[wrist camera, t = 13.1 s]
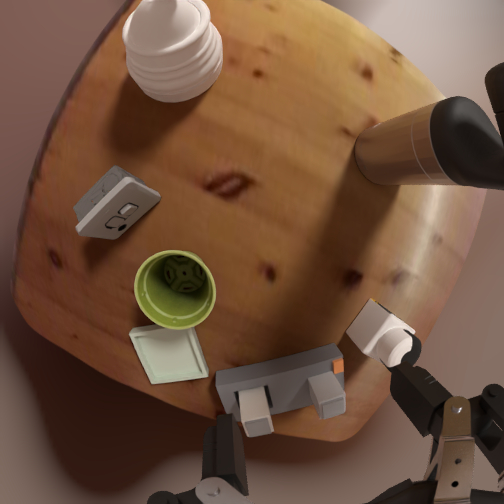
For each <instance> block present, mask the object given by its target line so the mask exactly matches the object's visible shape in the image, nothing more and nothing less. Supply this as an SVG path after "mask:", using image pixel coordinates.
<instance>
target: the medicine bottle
mask: <svg viewBox="0 0 504 504" xmlns="http://www.w3.org/2000/svg"><path fill="white" fill-rule="evenodd" d="M346 333H347V335H348V336H349V337H350V338H351V339H352V341H353V342H354V343H355V344H356V345H357V347H358V348H359V349H360V350H361V351H362V353H364V354H365V355H367V356H369V357H371V358H373V359H375V360H377V361H379V362H381V363H383V364H384V365H385V366H386V368H387V369H388V370H389V371H390V372H391V373H392V368H393V366H395V365H398V364H400V363H402V362H404V361H408V362H409V363H410V364H411V365H412V366H413V365H414V364H415V363H416V361H417V360H418V358H419V356H420V353H421V342H420V340H419V339H418V338H417V337H416V336H414V333H415V330H414V329H412V328H411V327H410V326H409V325H407V324H406V323H405V322H403V321H402V320H401V319H400V318H398V317H397V316H396V315H394V314H393V313H392V312H390V311H389V310H387V309H386V308H385V307H383V306H382V305H381V304H379V303H378V302H376V301H375V300H374V299H372V298H370V299H369V300H368V302H367V303H366V305H365V306H364V307H363V309H362V310H361V312H360V313H359V314H358V316H357V317H356V318H355V320H354V321H353V322H352V324H351V325H350V326H349V328H348V329H347V330H346Z"/></svg>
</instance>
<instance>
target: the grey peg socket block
mask: <svg viewBox="0 0 504 504" xmlns="http://www.w3.org/2000/svg"><path fill="white" fill-rule="evenodd" d="M260 386H264V388H265V392H266V396H267V401H268V406H269V410H270V415H274V414H278V413H283V412H287V411H291V410H295V409H298V408H302V407H306V406H309V405H313V404H314V406H315V408H316V410H317V413H318V415H319V418H320V419H327V418H330V417H333V416H336V415H339V414H342V413H344V411H345V392H344V365H343V354H342V353H341V352H340V350H339V349H338V347H337V346H336V345H335V343H332V344H329V345H325V346H322V347H318V348H315V349H312V350H308V351H304V352H301V353H297V354H293V355H289V356H285V357H281V358H277V359H273V360H269V361H264V362H260V363H256V364H251V365H246V366H241V367H236V368H231V369H226V370H220V371H216V388H217V391H218V394H219V396H220V399H221V401H222V404H223V406H224V409H225V411H226V414H229V413H233V414H234V417H235V419H236V422H239V421H241V413H240V402H239V391H241V390H246V389H251V388H256V387H260Z"/></svg>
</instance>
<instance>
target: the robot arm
mask: <svg viewBox="0 0 504 504" xmlns="http://www.w3.org/2000/svg"><path fill="white" fill-rule="evenodd" d="M485 85H486V90H487V93H488V96H489V99H490V102H491V105H492V108H493V111H494V113H495V114H496V115H495V117H496V121H497V124H498V127H499V131H500V135H501V136H500V135H499V134H498V132H497V131H496V129H495V127H494V126H493V124H492V123H491V121H490V119H489V118H488V116H487V115H486V113H485V112H484V111H483V110H482V109H481V108H480V106H478V105H477V104H476V103H475V102H474V101H472V100H470V99H468V98H466V97H460V96H456V97H451V98H448V99H445V100H442V101H439V102H436V103H433V104H430V105H427V106H425V107H422V108H419V109H416V110H414V111H411V112H408V113H406V114H403V115H400V116H398V117H395V118H392V119H390V120H387V121H385V122H382V123H379V124H377V125H375V126H372V127H370V128H367V129H366V130H364V131H363V132H362V133H361V134H360V135H359V137H358V138H357V141H356V144H355V159H356V162H357V165H358V167H359V169H360V171H361V172H362V173H363V175H364V176H365V177H366V178H367V179H368V180H370V181H371V182H373V183H376V184H379V185H462V186H473V187H477V188H487V189H498V190H504V62H503V63H500V64H498V65H496V66H495V67H493V68H491V69H490V70H489V71H488V73H487V74H486V77H485ZM390 392H391V395H392V397H393V399H394V400H395V401H396V402H397V404H398V405H399V406H400V408H401V409H402V410H403V411H404V413H405V414H406V415H407V417H408V418H409V419H410V421H411V422H412V423H413V424H414V426H415V427H416V428H417V430H418V431H419V432H420V434H421V435H422V436H423V437H425V436H427V435H429V434H430V433H431V434H432V436H433V437H432V441H431V448H430V454H429V459H428V465H427V469H426V472H425V475H424V478H423V480H422V481H416V482H412V481H411V480H410V479H407V480H405V481H403V482H401V483H399V484H397V485H395V486H393V487H391V488H389V489H387V490H386V491H385V492H383V493H382V494H380V495H379V496H378V497H376V498H375V499H373V500H372V501H370V502H368V503H365V504H504V388H503V387H502V386H500V385H498V384H490V385H488V386H486V387H485V388H484V389H483V392H482V394H481V395H479V396H476V397H473V398H470V399H466V398H465V397H462V396H452V395H451V394H450V393H449V392H448V391H447V390H446V389H445V388H444V387H443V386H442V385H441V384H440V383H439V382H438V381H436V379H435V378H434V377H433V376H431V374H430V373H429V372H428V371H427V370H425V369H423V368H421V367H418V366H416V367H413V366H412V365H411V364H410V363H409V362H408V361H404V362H402V363H400V364H398V365H395V366H393V368H392V374H391V384H390ZM493 420H494V421H495V423H496V424H497V425H498V426H499V427H500V428H501V429H502V430H501V429H500V428H499V427H498V426H497V425H496V424H495V423H494V421H493ZM475 443H476V445H477V446H478V447H479V449H480V450H481V451H482V453H483V454H484V455H485V456H486V458H487V459H488V460H489V462H490V463H491V465H492V466H493V467H494V469H495V470H496V472H497V473H498V474H499V478H498V490H499V491H500V492H493V491H484V490H477V489H471V486H472V478H473V467H474V451H475ZM203 444H204V445H203V465H202V479H201V481H200V483H198V485H197V486H196V487H195V488H194V489H192V490H189V491H186V492H183V493H179V494H176V495H174V494H173V493H171V492H168V491H159V492H156V493H154V494H152V495H151V496H150V497H149V499H148V501H147V504H253V502H251V501H250V500H248V499H247V498H246V497H245V496H247V495H249V493H248V484H247V476H246V466H245V457H244V447H243V439H242V435H241V432H240V429H239V427H238V424H237V422H236V419H235V417H234V414H233V413H229V414H223V415H217V426H212V427H208V429H207V430H206V432H205V434H204V441H203Z"/></svg>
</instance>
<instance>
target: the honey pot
mask: <svg viewBox="0 0 504 504" xmlns="http://www.w3.org/2000/svg"><path fill="white" fill-rule="evenodd" d="M192 4H193V5H194V6H193V5H192ZM196 7H197V8H198V9H197V8H196ZM210 19H211V18H210V11H209V9H208V7H207V6H206V4H205V3H204V2H203V1H201V0H143V1H142V2H141V3H140V4H139V5H138V7H137V8H136V10H135V11H134V12H133V13H132V14H131V15H130V16H129V18H128V19H127V20H126V22H125V25H124V27H123V33H122V38H123V41H124V44H125V46H126V54H127V55H126V65H127V68H128V71H129V74H130V76H131V77H132V78H133V79H134V81H135V82H136V83H137V84H138V85H139V87H140V88H141V89H142V90H143V91H144V93H145V94H146V95H148V96H150V97H151V98H153V99H155V100H158V101H162V102H180V101H186V100H189V99H191V98H194V97H196V96H199V95H200V94H202V93H203V92H204V91H206V90H207V89H209V88H210V86H211V85H212V84H213V83H214V82H215V81H216V80H217V78H218V76H219V74H220V72H221V68H222V62H223V55H222V40H221V36H220V34H219V32H218V31H217V29H216V27H215V26H214V25H213V24H212V23H211V22H210Z"/></svg>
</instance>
